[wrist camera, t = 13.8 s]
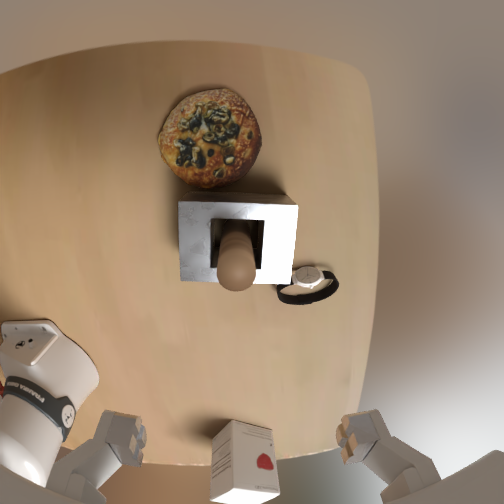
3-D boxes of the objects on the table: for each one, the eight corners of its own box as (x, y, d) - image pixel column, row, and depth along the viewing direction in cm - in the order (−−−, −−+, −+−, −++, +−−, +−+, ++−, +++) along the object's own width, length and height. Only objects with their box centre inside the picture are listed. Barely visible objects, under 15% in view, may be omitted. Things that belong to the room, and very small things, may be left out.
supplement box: (273, 429, 47) (282, 494, 33) (250, 448, 50) (254, 507, 36) (231, 418, 45) (233, 488, 31) (210, 438, 48) (208, 501, 34)
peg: (223, 216, 32) (216, 254, 21) (249, 217, 32) (257, 255, 21) (222, 241, 33) (216, 290, 22) (248, 242, 33) (255, 291, 22)
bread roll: (258, 191, 31) (255, 196, 27) (164, 185, 32) (146, 189, 27) (266, 94, 28) (264, 82, 23) (170, 93, 28) (153, 84, 24)
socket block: (189, 258, 34) (180, 280, 28) (188, 191, 31) (178, 201, 25) (281, 261, 34) (289, 283, 29) (287, 195, 32) (298, 205, 26)
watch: (333, 260, 35) (342, 272, 32) (334, 293, 37) (342, 307, 33) (273, 270, 35) (277, 283, 32) (277, 303, 37) (281, 318, 33)
